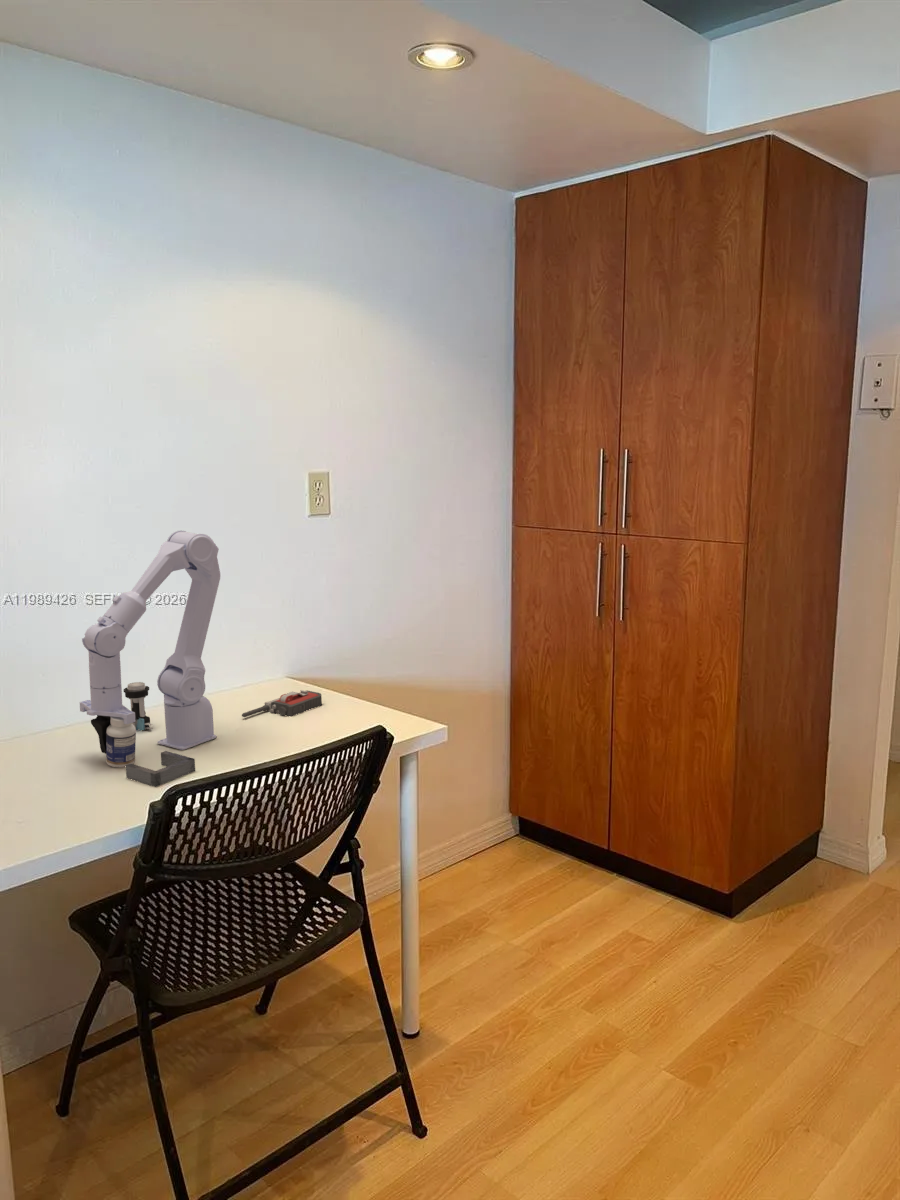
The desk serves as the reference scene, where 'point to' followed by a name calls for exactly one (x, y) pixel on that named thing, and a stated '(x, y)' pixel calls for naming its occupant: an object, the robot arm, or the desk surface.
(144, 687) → the push button
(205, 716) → the robot arm
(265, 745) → the desk surface
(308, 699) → the walkie-talkie
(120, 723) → the pill bottle
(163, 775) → the docking socket
